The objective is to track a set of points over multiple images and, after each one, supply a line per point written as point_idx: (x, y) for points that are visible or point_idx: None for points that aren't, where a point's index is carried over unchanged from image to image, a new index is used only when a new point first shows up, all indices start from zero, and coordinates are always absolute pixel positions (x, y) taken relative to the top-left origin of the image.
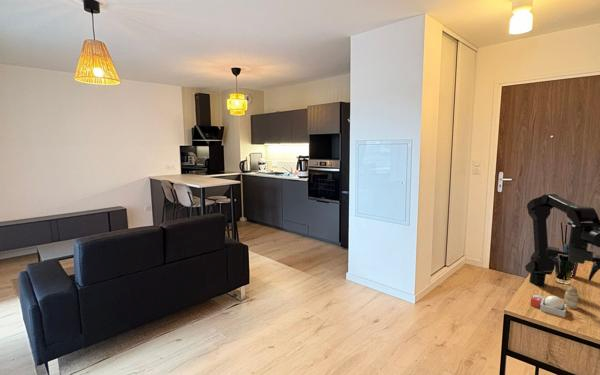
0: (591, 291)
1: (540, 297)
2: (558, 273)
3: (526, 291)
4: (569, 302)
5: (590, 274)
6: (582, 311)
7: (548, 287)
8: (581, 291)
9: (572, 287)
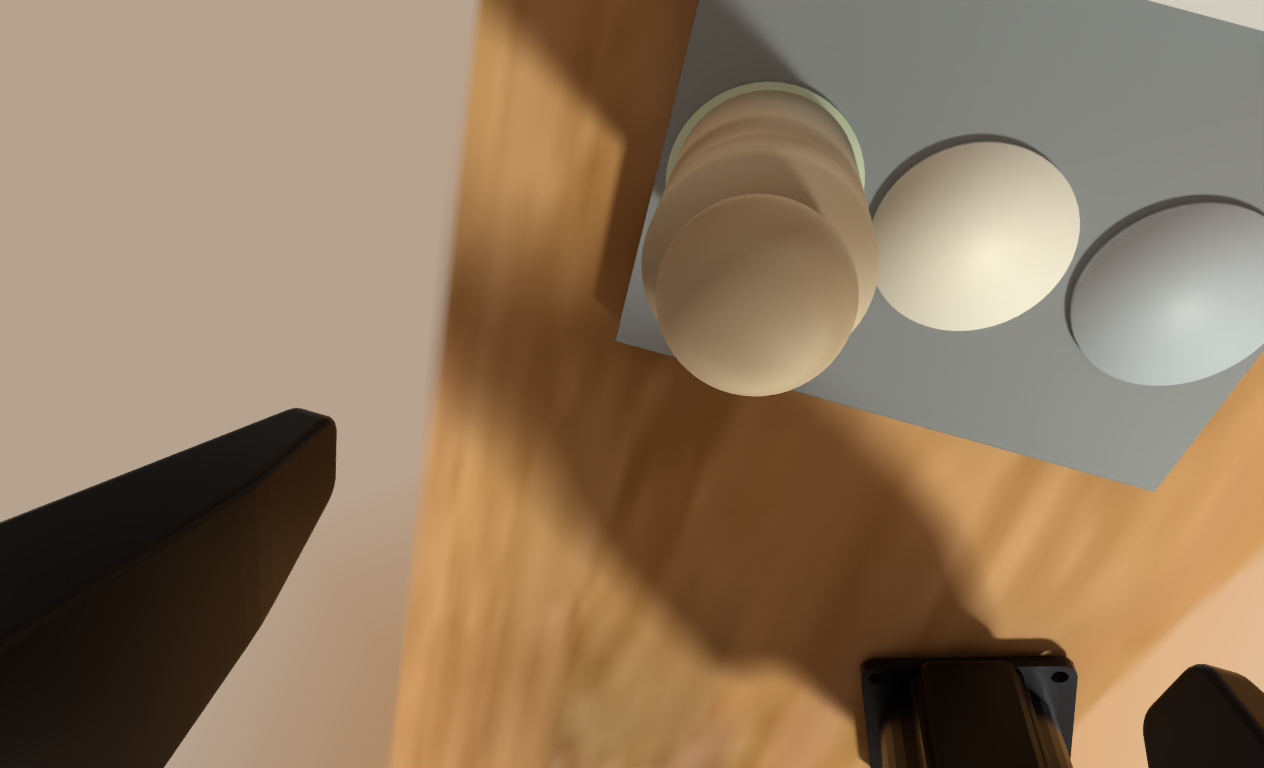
0: (418, 724)
1: (1173, 302)
2: (1246, 689)
3: (1224, 515)
4: (809, 120)
5: (90, 580)
6: (603, 149)
7: (830, 701)
8: (504, 701)
9: (752, 355)
